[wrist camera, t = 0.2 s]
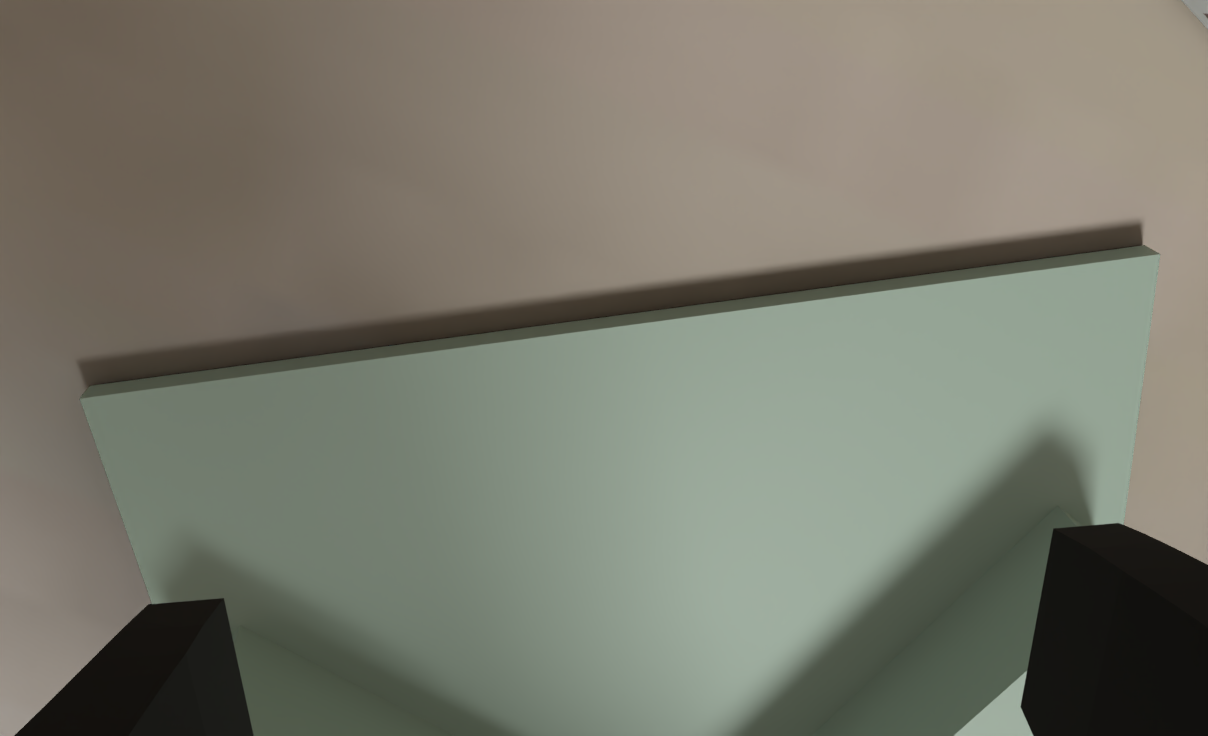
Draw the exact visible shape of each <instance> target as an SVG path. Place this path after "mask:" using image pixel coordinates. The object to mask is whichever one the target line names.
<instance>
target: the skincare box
mask: <svg viewBox="0 0 1208 736" xmlns="http://www.w3.org/2000/svg"><path fill="white" fill-rule="evenodd" d="M1182 2H1183V3H1184V4H1185V5H1186V6H1187V7H1188V8H1189V9H1190V10H1191V11H1192V13H1193V14H1194V15H1195V16H1196V17H1197V18H1198V19H1199V20H1200V21H1201V23H1202V24H1203V25H1204V26H1205V27H1206V28H1207V29H1208V0H1182Z"/></svg>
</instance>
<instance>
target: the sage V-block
mask: <svg viewBox="0 0 1208 736" xmlns="http://www.w3.org/2000/svg"><path fill="white" fill-rule="evenodd" d="M1159 260H1160V254H1159V253H1157V252H1156V251H1154V250H1152V249H1150V248H1148V247H1146V246H1145V245H1143V246H1135V247H1128V248H1120V249H1113V250H1105V251H1098V252H1090V253H1083V254H1075V255H1068V256H1060V257H1053V258H1045V259H1038V260H1030V261H1023V262H1015V263H1008V264H1000V265H993V266H985V267H978V268H970V269H963V270H955V271H948V272H940V273H933V274H925V275H918V276H910V277H903V278H895V279H888V280H880V281H873V282H865V283H858V284H850V285H843V286H835V287H828V288H820V289H813V290H805V291H798V292H790V293H783V294H775V295H768V296H760V297H753V298H745V299H738V300H730V301H723V302H715V303H708V304H700V305H693V306H685V307H678V308H670V309H663V310H655V311H648V312H640V313H633V314H625V315H618V316H610V317H603V318H595V319H588V320H580V321H573V322H565V323H558V324H550V325H543V326H535V327H528V328H520V329H513V330H505V331H498V332H490V333H483V334H475V335H468V336H460V337H453V338H445V339H438V340H430V341H423V342H415V343H408V344H400V345H393V346H385V347H378V348H370V349H363V350H355V351H348V352H340V353H333V354H325V355H318V356H310V357H303V358H295V359H288V360H280V361H273V362H265V363H258V364H250V365H243V366H235V367H228V368H220V369H213V370H205V371H198V372H190V373H183V374H175V375H168V376H160V377H153V378H145V379H138V380H130V381H123V382H115V383H108V384H100V385H93V386H89V387H88V389H87V390H86V391H85V392H84V394H83V395H82V396H81V398H80V401H81V404H82V407H83V410H84V412H85V415H86V418H87V421H88V424H89V427H90V429H91V432H92V435H93V438H94V441H95V444H96V446H97V449H98V452H99V455H100V458H101V461H102V463H103V466H104V469H105V472H106V475H107V478H108V480H109V483H110V486H111V489H112V492H113V495H114V497H115V500H116V503H117V506H118V509H119V512H120V514H121V517H122V520H123V523H124V526H125V529H126V532H127V534H128V537H129V540H130V543H131V546H132V549H133V551H134V554H135V557H136V560H137V563H138V566H139V568H140V571H141V574H142V577H143V580H144V583H145V585H146V588H147V591H148V594H149V597H150V600H151V602H152V604H159V603H171V602H183V601H195V600H207V599H219V598H224V601H225V606H226V610H227V615H228V619H229V624H230V629H231V633H232V638H233V642H234V647H235V652H236V656H237V661H238V665H239V670H240V675H241V679H242V684H243V688H244V693H245V698H246V702H247V707H248V711H249V716H250V721H251V725H252V730H253V734H254V736H1033V734H1032V732H1031V729H1030V727H1029V725H1028V723H1027V720H1026V718H1025V716H1024V714H1023V711H1022V709H1021V701H1022V696H1023V690H1024V685H1025V679H1026V674H1027V669H1028V663H1029V658H1030V652H1031V647H1032V641H1033V636H1034V630H1035V625H1036V620H1037V614H1038V609H1039V603H1040V598H1041V592H1042V587H1043V581H1044V576H1045V571H1046V565H1047V560H1048V554H1049V549H1050V543H1051V538H1052V533H1053V528H1065V527H1077V526H1089V525H1101V524H1113V523H1120V524H1122V525H1124V518H1125V510H1126V503H1127V496H1128V488H1129V481H1130V474H1131V466H1132V459H1133V451H1134V444H1135V437H1136V429H1137V422H1138V415H1139V407H1140V400H1141V392H1142V385H1143V378H1144V370H1145V363H1146V356H1147V348H1148V341H1149V334H1150V326H1151V319H1152V311H1153V304H1154V297H1155V289H1156V282H1157V275H1158V267H1159Z"/></svg>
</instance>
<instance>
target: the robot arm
mask: <svg viewBox="0 0 1208 736" xmlns="http://www.w3.org/2000/svg"><path fill="white" fill-rule="evenodd" d="M1021 709H1022V711H1023V714H1024V716H1025V718H1026V720H1027V723H1028V725H1029V727H1030V729H1031V732H1032V734H1033V736H1208V565H1207V564H1205V563H1203V562H1201V561H1199V560H1197V559H1195V558H1193V557H1191V556H1189V555H1187V554H1185V553H1183V552H1181V551H1179V550H1177V549H1175V548H1173V547H1171V546H1169V545H1167V544H1165V543H1163V542H1161V541H1158V540H1156V539H1154V538H1152V537H1150V536H1148V535H1146V534H1143V533H1141V532H1139V531H1136V530H1134V529H1132V528H1129V527H1127V526H1125V525H1122V524H1120V523H1113V524H1101V525H1089V526H1077V527H1065V528H1053V533H1052V538H1051V543H1050V549H1049V554H1048V560H1047V565H1046V571H1045V576H1044V581H1043V587H1042V592H1041V598H1040V603H1039V609H1038V614H1037V620H1036V625H1035V630H1034V636H1033V641H1032V647H1031V652H1030V658H1029V663H1028V669H1027V674H1026V679H1025V685H1024V690H1023V696H1022V701H1021ZM15 736H254V734H253V730H252V725H251V721H250V716H249V711H248V707H247V702H246V698H245V693H244V688H243V684H242V679H241V675H240V670H239V665H238V661H237V656H236V652H235V647H234V642H233V638H232V633H231V629H230V624H229V619H228V615H227V610H226V606H225V601H224V598H219V599H207V600H195V601H183V602H171V603H159V604H149V605H148V606H146V607H145V608H144V609H143V610H142V611H141V612H140V613H139V614H138V615H137V616H136V617H135V618H133V619H132V620H131V621H130V622H129V623H128V624H127V625H126V626H125V627H124V628H123V629H122V630H121V631H120V632H119V633H118V634H117V635H116V636H115V637H114V638H113V639H112V640H111V641H110V642H109V643H108V644H107V645H106V646H105V647H104V648H103V649H102V650H101V651H100V652H99V653H98V654H97V655H96V656H95V657H94V658H93V659H92V660H91V661H90V662H89V663H88V664H87V665H86V666H85V667H84V668H83V669H82V670H81V671H80V672H79V673H78V674H77V675H76V676H75V677H74V678H73V679H72V680H71V681H70V682H69V683H68V684H67V685H66V686H65V687H64V688H63V689H62V690H61V691H60V692H59V693H58V694H57V695H56V696H55V697H54V698H53V699H52V700H51V701H50V702H49V703H48V704H47V705H46V706H45V707H44V708H42V709H41V710H40V711H39V712H38V713H37V714H36V715H35V716H34V717H33V718H32V719H31V720H30V721H29V722H28V723H27V724H26V725H25V726H24V727H23V728H22V729H21V730H20V731H19V732H18V733H17V734H16V735H15Z"/></svg>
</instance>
